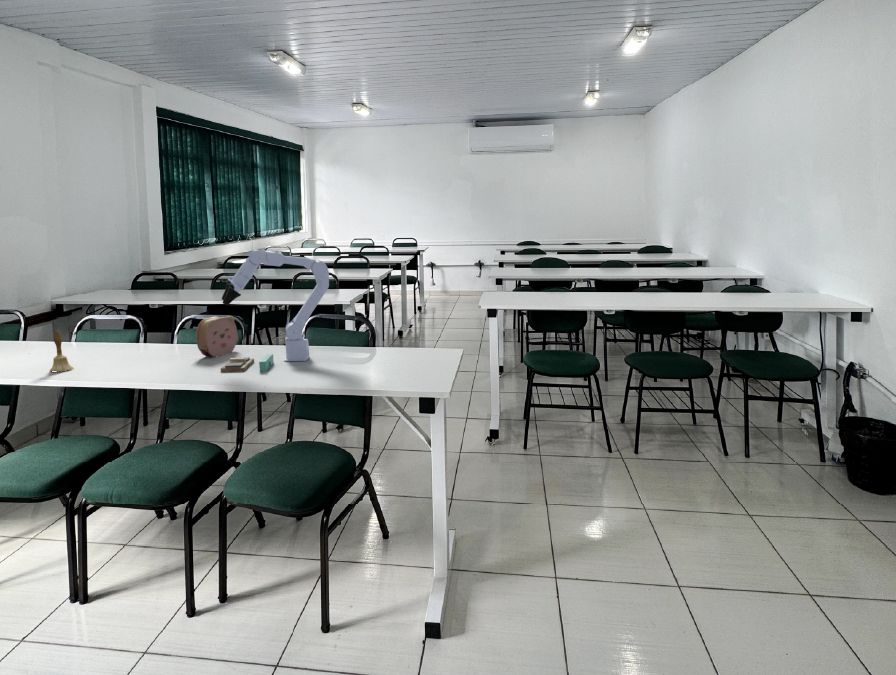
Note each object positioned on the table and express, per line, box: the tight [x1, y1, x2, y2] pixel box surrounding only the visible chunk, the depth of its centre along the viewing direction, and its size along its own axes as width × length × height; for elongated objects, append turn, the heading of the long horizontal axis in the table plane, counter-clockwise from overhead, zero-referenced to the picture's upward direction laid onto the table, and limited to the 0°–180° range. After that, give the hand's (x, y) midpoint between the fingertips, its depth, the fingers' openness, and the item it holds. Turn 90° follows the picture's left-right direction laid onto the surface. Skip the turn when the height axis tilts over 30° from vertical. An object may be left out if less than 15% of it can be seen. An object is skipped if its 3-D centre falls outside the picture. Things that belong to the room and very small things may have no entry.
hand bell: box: [49, 330, 74, 372], centre depth 238 cm, size 8×8×16 cm
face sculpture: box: [195, 315, 239, 358], centre depth 264 cm, size 20×7×17 cm, turn 161°
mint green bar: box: [258, 353, 275, 372], centre depth 240 cm, size 14×2×4 cm, turn 4°
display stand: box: [220, 356, 255, 373], centre depth 242 cm, size 16×9×4 cm, turn 4°
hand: (224, 302), depth 242 cm, fingers open, 7 cm apart
